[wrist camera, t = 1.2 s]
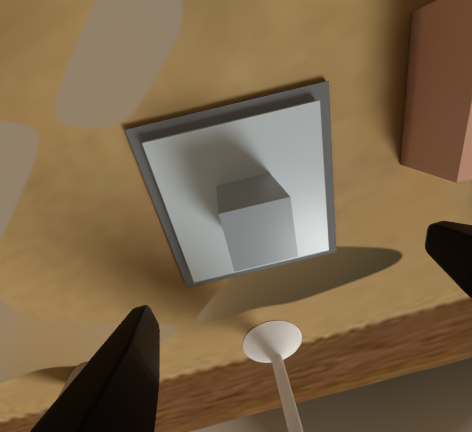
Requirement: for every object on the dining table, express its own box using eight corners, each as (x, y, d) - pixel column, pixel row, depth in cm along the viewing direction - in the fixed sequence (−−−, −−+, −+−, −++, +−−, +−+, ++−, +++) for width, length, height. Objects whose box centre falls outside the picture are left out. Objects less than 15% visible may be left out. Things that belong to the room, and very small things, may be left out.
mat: (326, 81, 17) (328, 80, 16) (334, 249, 23) (336, 251, 22) (126, 129, 17) (124, 129, 16) (187, 284, 23) (187, 287, 22)
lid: (315, 100, 17) (363, 99, 12) (324, 245, 22) (361, 290, 17) (144, 141, 17) (115, 158, 12) (194, 276, 22) (189, 331, 17)
